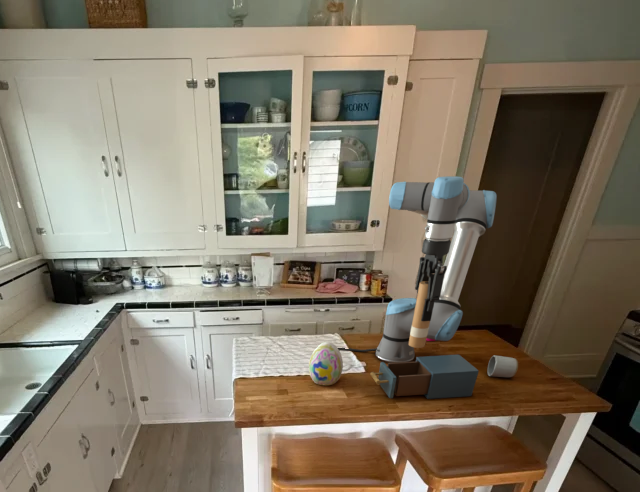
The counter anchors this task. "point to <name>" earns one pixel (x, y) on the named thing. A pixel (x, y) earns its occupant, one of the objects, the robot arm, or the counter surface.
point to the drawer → (403, 378)
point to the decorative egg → (326, 364)
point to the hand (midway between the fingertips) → (422, 317)
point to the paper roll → (419, 319)
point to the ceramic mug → (502, 366)
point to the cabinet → (449, 376)
